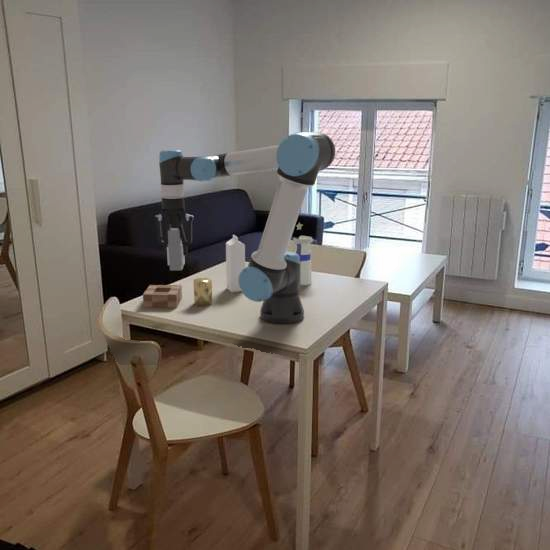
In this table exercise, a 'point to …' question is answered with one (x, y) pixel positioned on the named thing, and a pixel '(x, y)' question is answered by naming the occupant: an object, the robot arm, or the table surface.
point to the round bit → (202, 292)
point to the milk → (234, 263)
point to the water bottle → (304, 257)
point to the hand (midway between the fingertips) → (176, 264)
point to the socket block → (162, 296)
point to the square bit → (174, 249)
